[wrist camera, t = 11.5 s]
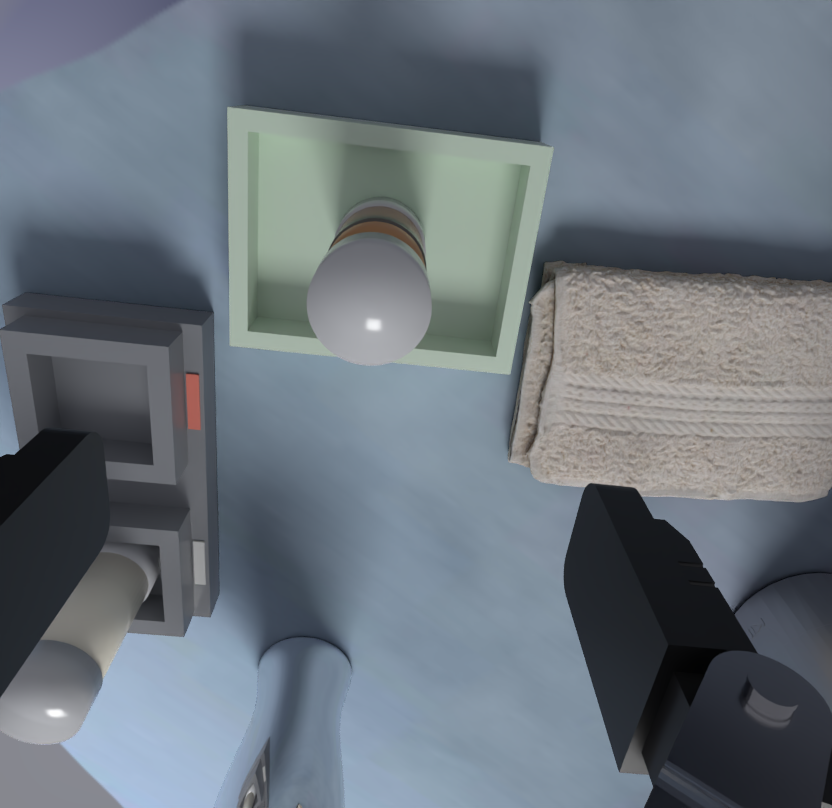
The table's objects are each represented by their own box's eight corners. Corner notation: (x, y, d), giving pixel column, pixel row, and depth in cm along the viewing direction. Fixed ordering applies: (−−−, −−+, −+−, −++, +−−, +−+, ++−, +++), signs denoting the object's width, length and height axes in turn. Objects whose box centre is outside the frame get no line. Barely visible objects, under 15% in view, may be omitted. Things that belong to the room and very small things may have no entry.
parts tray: (540, 141, 29) (553, 147, 26) (502, 352, 33) (509, 374, 30) (244, 105, 28) (227, 106, 25) (244, 325, 32) (229, 345, 30)
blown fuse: (429, 202, 29) (439, 252, 20) (419, 289, 31) (423, 371, 22) (340, 191, 29) (309, 237, 20) (334, 279, 31) (304, 359, 22)
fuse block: (213, 312, 32) (188, 340, 28) (219, 593, 40) (200, 643, 36) (25, 292, 31) (-25, 318, 28) (68, 581, 39) (34, 630, 36)
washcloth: (526, 253, 31) (538, 269, 29) (887, 272, 32) (933, 290, 29) (499, 464, 37) (506, 495, 34) (810, 478, 37) (843, 509, 34)
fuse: (161, 530, 35) (76, 681, 26) (165, 587, 37) (87, 747, 28) (85, 523, 35) (-26, 674, 26) (93, 581, 37) (-9, 741, 28)
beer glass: (267, 618, 41) (197, 881, 27) (372, 646, 42) (355, 911, 28) (241, 692, 44) (165, 963, 30) (340, 716, 45) (310, 988, 31)
